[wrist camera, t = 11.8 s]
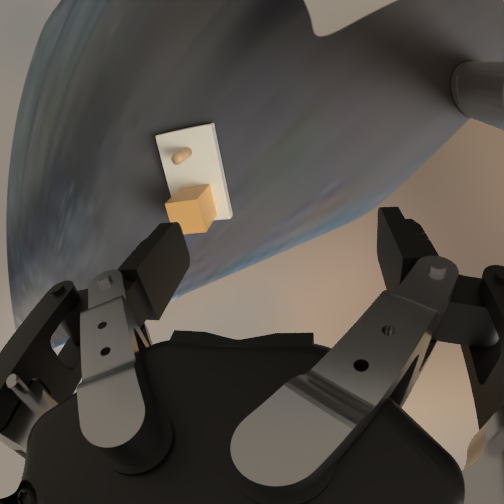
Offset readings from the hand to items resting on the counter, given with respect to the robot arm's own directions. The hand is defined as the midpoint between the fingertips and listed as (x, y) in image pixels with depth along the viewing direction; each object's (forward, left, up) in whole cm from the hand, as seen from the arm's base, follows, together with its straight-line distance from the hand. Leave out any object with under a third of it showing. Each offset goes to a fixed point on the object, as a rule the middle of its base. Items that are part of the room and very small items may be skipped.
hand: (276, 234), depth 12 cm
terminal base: (+17, +6, -33) cm, 37 cm away
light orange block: (+17, +10, -31) cm, 37 cm away
